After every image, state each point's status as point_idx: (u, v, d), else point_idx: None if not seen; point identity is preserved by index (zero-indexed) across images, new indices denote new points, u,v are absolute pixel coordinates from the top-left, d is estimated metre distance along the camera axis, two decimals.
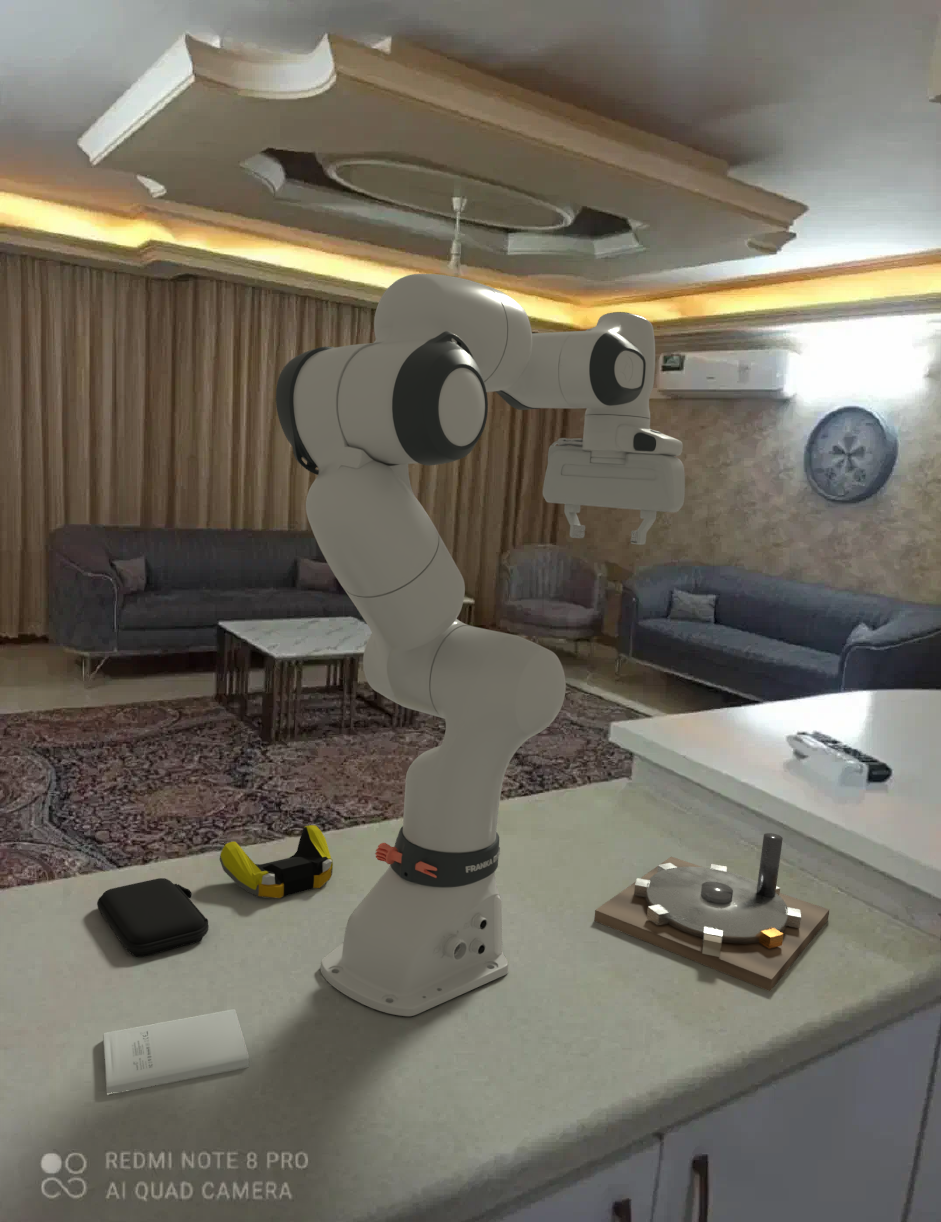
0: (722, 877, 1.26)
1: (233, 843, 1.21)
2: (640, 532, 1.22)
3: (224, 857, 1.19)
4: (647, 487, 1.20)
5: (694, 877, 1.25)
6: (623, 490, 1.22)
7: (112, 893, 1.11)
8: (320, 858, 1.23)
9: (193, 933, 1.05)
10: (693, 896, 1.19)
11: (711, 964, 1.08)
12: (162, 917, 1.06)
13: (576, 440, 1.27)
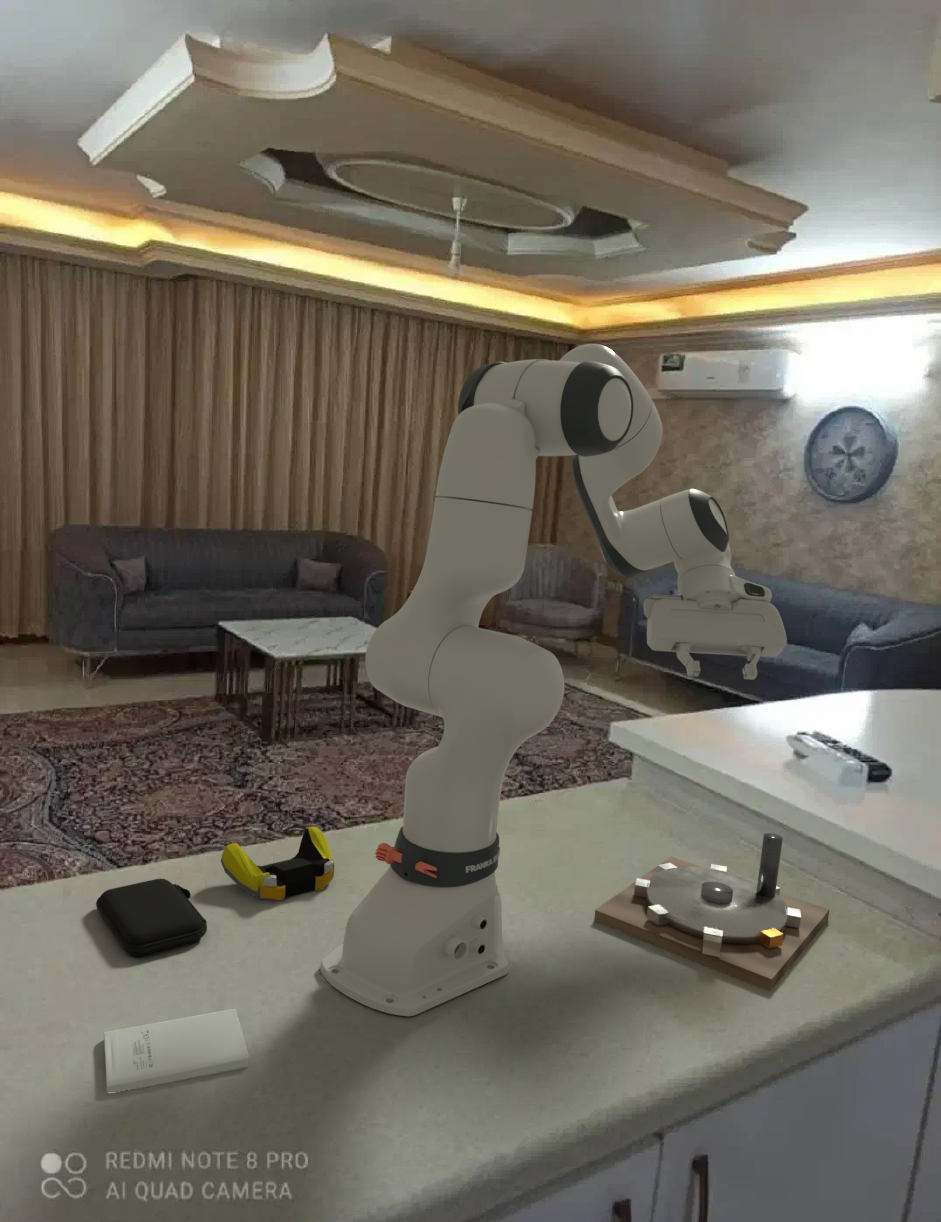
0: (722, 877, 1.26)
1: (234, 844, 1.20)
2: (755, 664, 1.31)
3: (225, 859, 1.19)
4: (759, 627, 1.34)
5: (694, 877, 1.25)
6: (737, 629, 1.33)
7: (110, 894, 1.10)
8: (322, 859, 1.22)
9: (192, 933, 1.05)
10: (693, 896, 1.19)
11: (711, 964, 1.08)
12: (160, 918, 1.06)
13: (672, 595, 1.38)
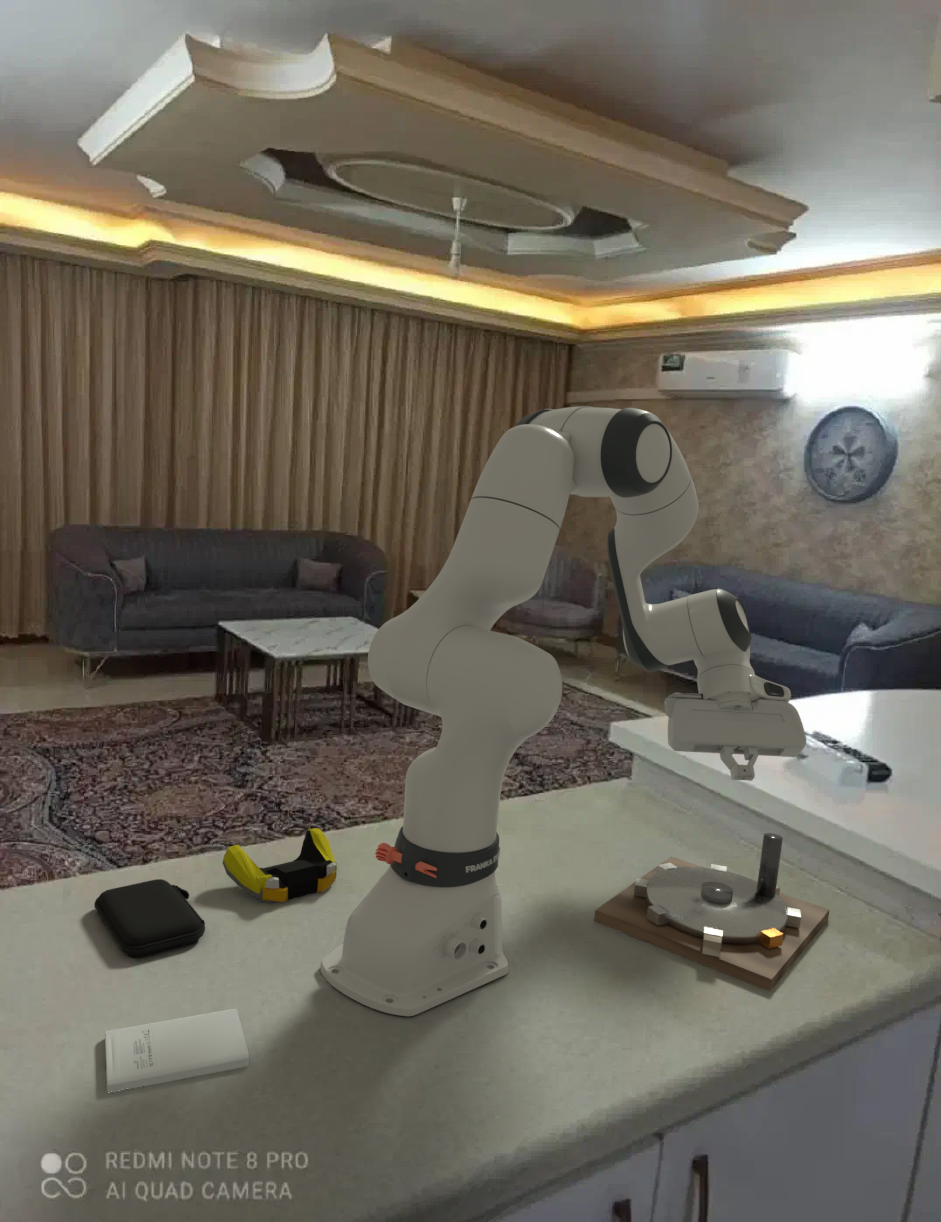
0: (722, 877, 1.26)
1: (236, 846, 1.20)
2: (752, 766, 1.33)
3: (227, 861, 1.18)
4: (779, 728, 1.36)
5: (694, 877, 1.25)
6: (758, 730, 1.35)
7: (109, 894, 1.10)
8: (324, 861, 1.22)
9: (190, 934, 1.05)
10: (693, 896, 1.19)
11: (711, 964, 1.08)
12: (158, 919, 1.05)
13: (693, 694, 1.39)
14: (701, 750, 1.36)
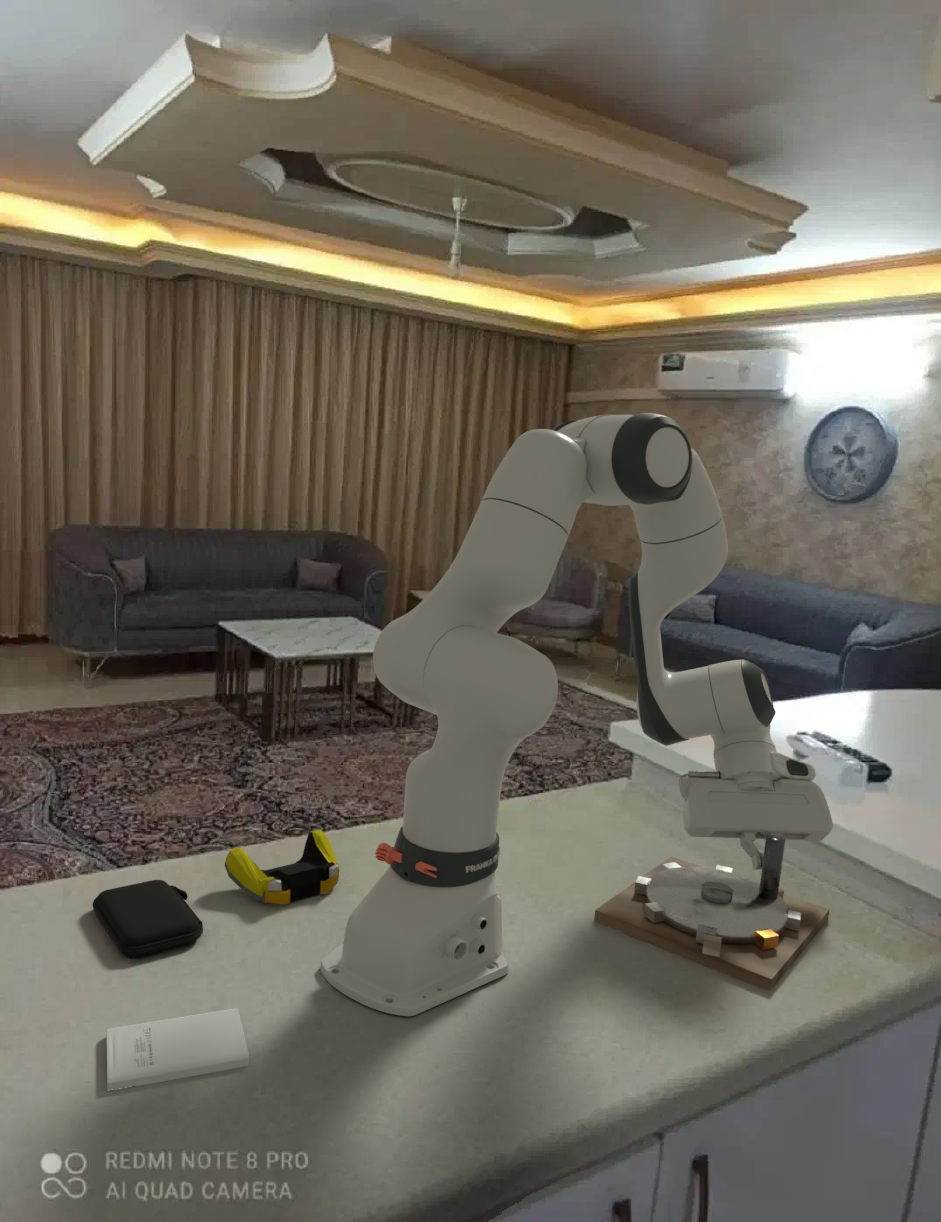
0: (726, 878, 1.26)
1: (238, 849, 1.19)
2: None
3: (229, 863, 1.18)
4: (803, 810, 1.26)
5: (697, 877, 1.25)
6: (780, 814, 1.25)
7: (107, 894, 1.10)
8: (326, 863, 1.21)
9: (187, 935, 1.04)
10: (692, 895, 1.20)
11: (711, 964, 1.08)
12: (156, 919, 1.05)
13: (710, 772, 1.29)
14: (719, 835, 1.26)
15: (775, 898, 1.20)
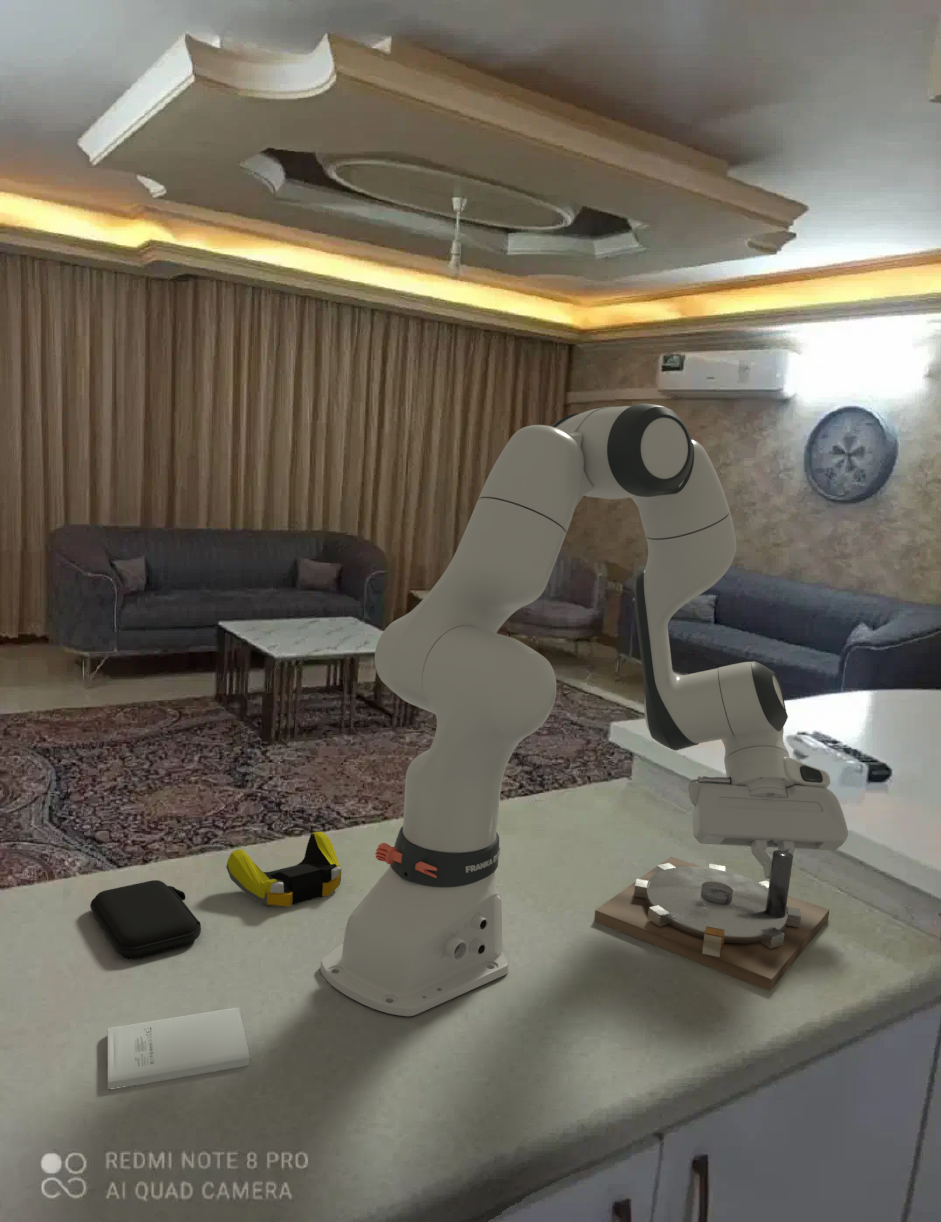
0: (756, 890, 1.22)
1: (240, 851, 1.19)
2: None
3: (231, 865, 1.17)
4: (818, 818, 1.22)
5: (726, 881, 1.25)
6: (794, 821, 1.21)
7: (105, 895, 1.10)
8: (328, 865, 1.21)
9: (185, 936, 1.04)
10: (694, 889, 1.22)
11: (711, 964, 1.08)
12: (154, 920, 1.05)
13: (720, 778, 1.25)
14: (730, 843, 1.22)
15: (777, 917, 1.15)
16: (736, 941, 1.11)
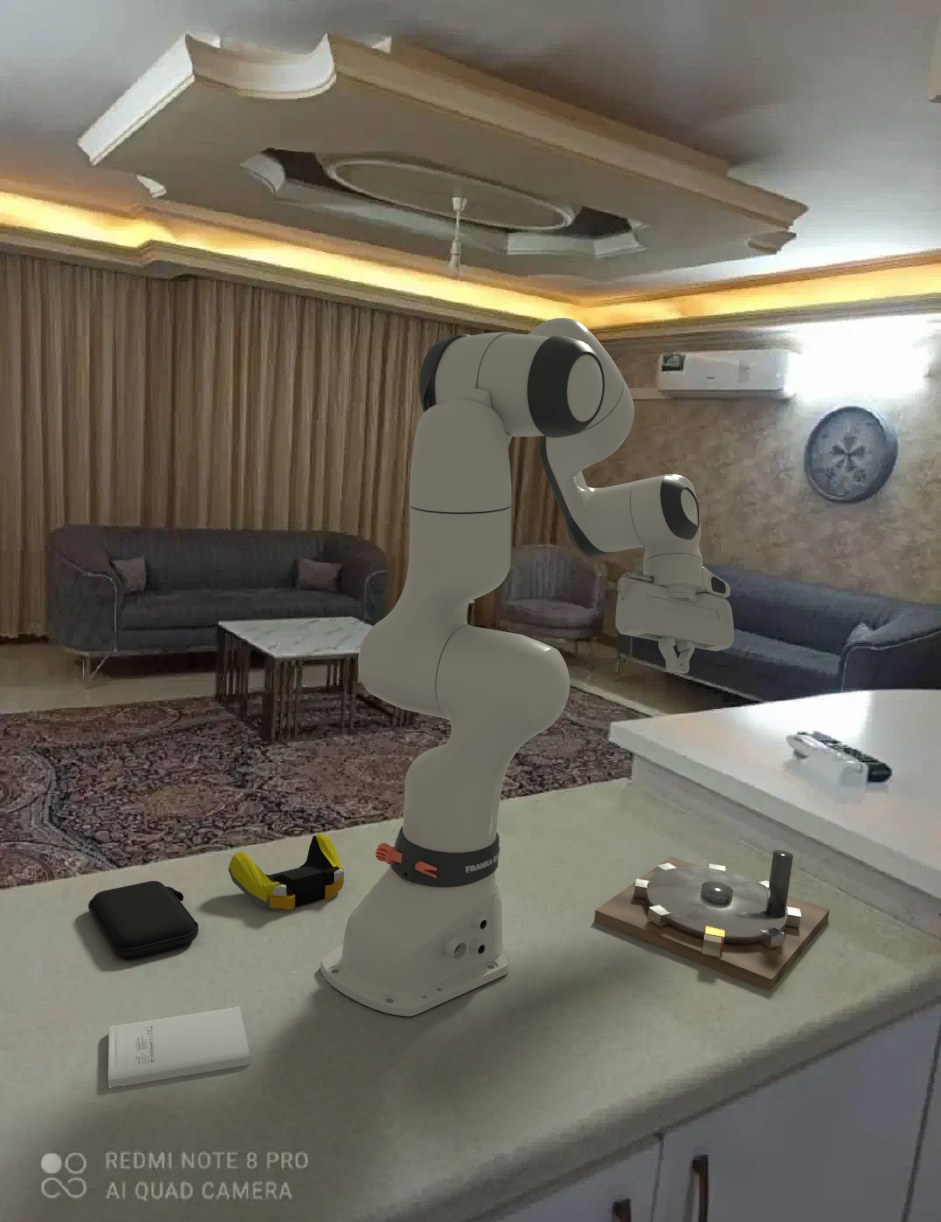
0: (756, 890, 1.22)
1: (242, 853, 1.18)
2: (688, 660, 1.33)
3: (233, 868, 1.17)
4: (715, 624, 1.36)
5: (726, 881, 1.25)
6: (698, 625, 1.35)
7: (102, 896, 1.10)
8: (331, 868, 1.20)
9: (183, 937, 1.04)
10: (694, 889, 1.22)
11: (711, 964, 1.08)
12: (151, 921, 1.05)
13: (645, 576, 1.34)
14: (643, 636, 1.33)
15: (777, 917, 1.15)
16: (736, 941, 1.11)
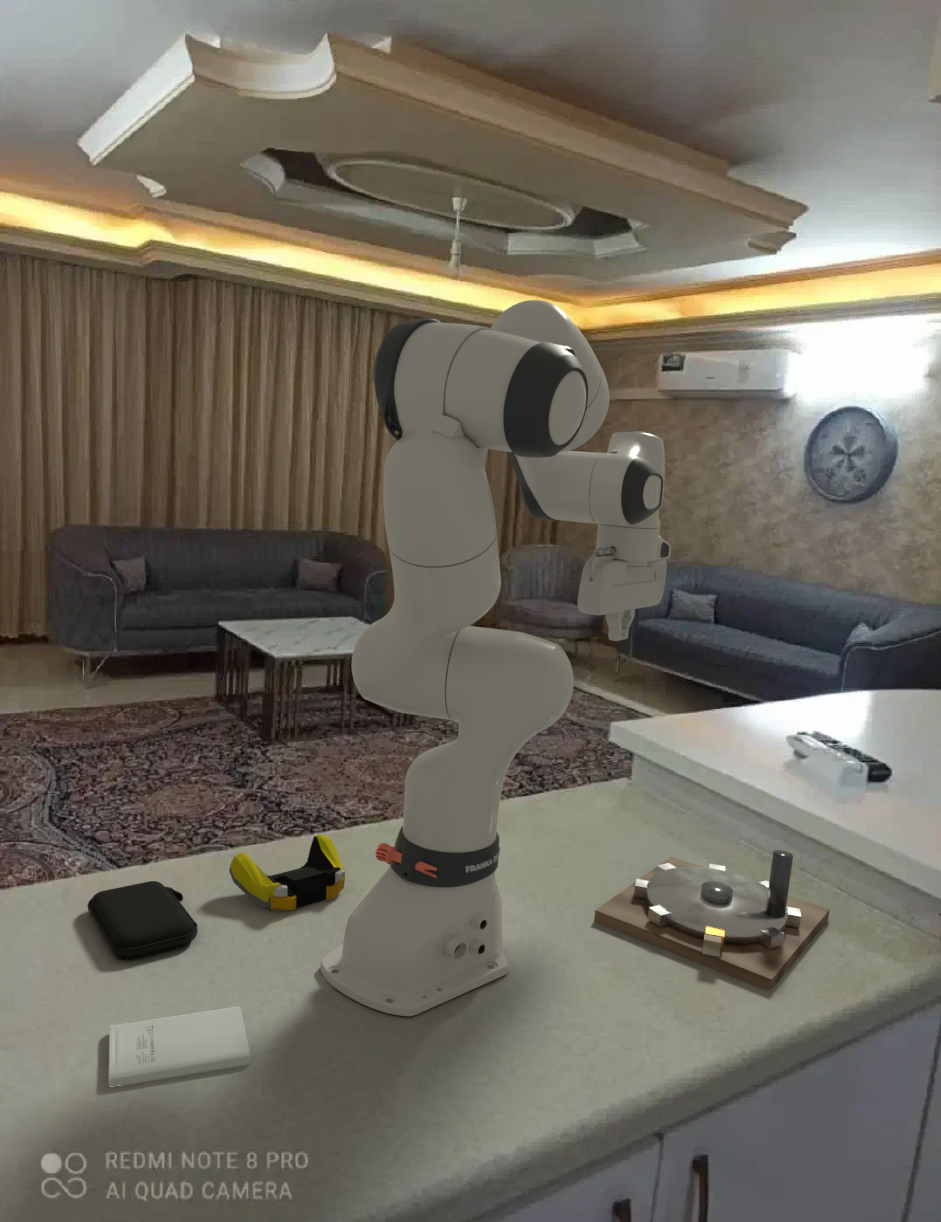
0: (756, 890, 1.22)
1: (243, 854, 1.18)
2: (628, 628, 1.34)
3: (234, 869, 1.16)
4: (652, 587, 1.37)
5: (726, 881, 1.25)
6: (642, 592, 1.34)
7: (102, 896, 1.10)
8: (332, 868, 1.20)
9: (182, 937, 1.04)
10: (694, 889, 1.22)
11: (711, 964, 1.08)
12: (150, 921, 1.05)
13: (610, 550, 1.27)
14: None
15: (777, 917, 1.15)
16: (736, 941, 1.11)
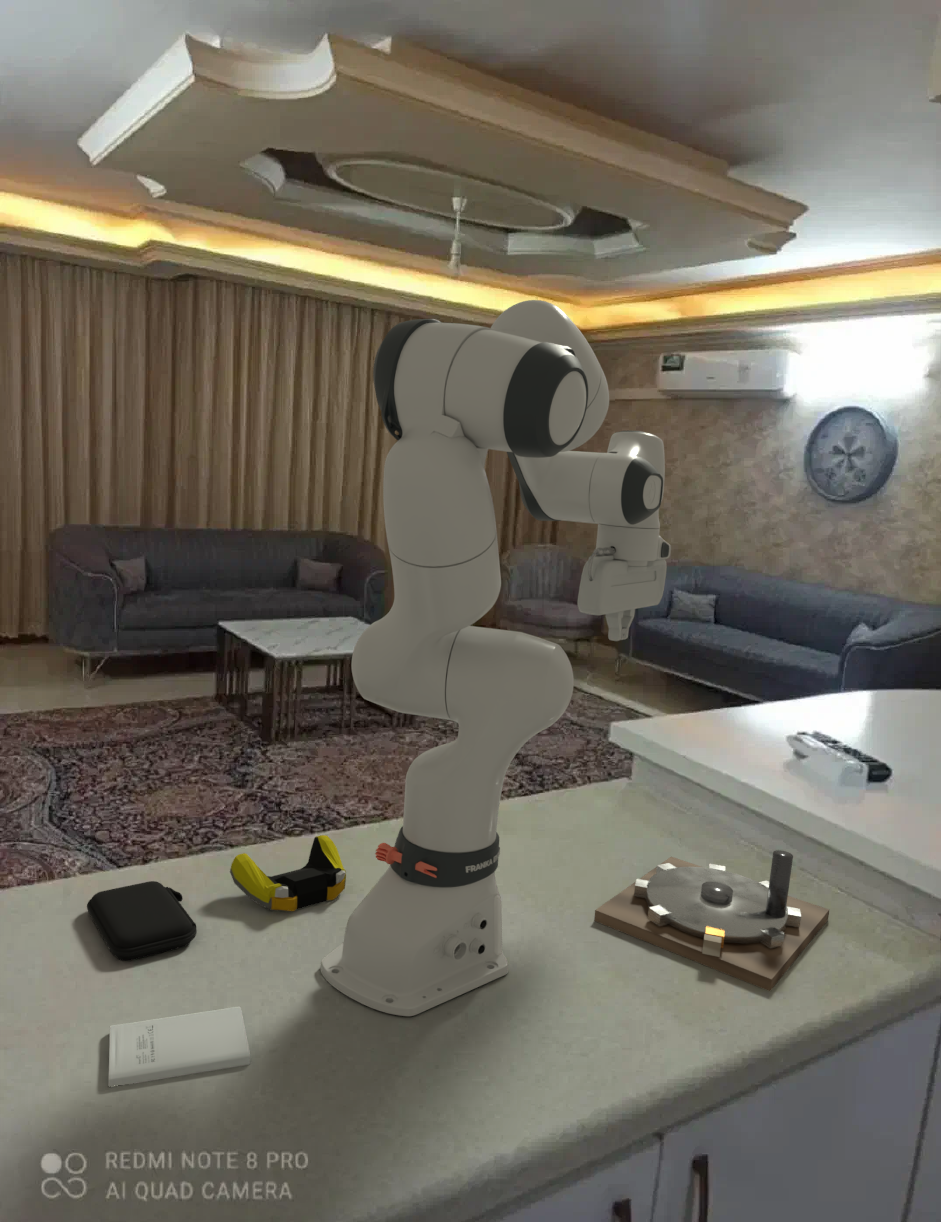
0: (756, 890, 1.22)
1: (244, 855, 1.18)
2: (628, 628, 1.34)
3: (235, 869, 1.16)
4: (652, 587, 1.37)
5: (726, 881, 1.25)
6: (642, 592, 1.34)
7: (101, 896, 1.10)
8: (333, 869, 1.20)
9: (180, 937, 1.04)
10: (694, 889, 1.22)
11: (711, 964, 1.08)
12: (149, 921, 1.05)
13: (610, 549, 1.27)
14: None
15: (777, 917, 1.15)
16: (736, 941, 1.11)
